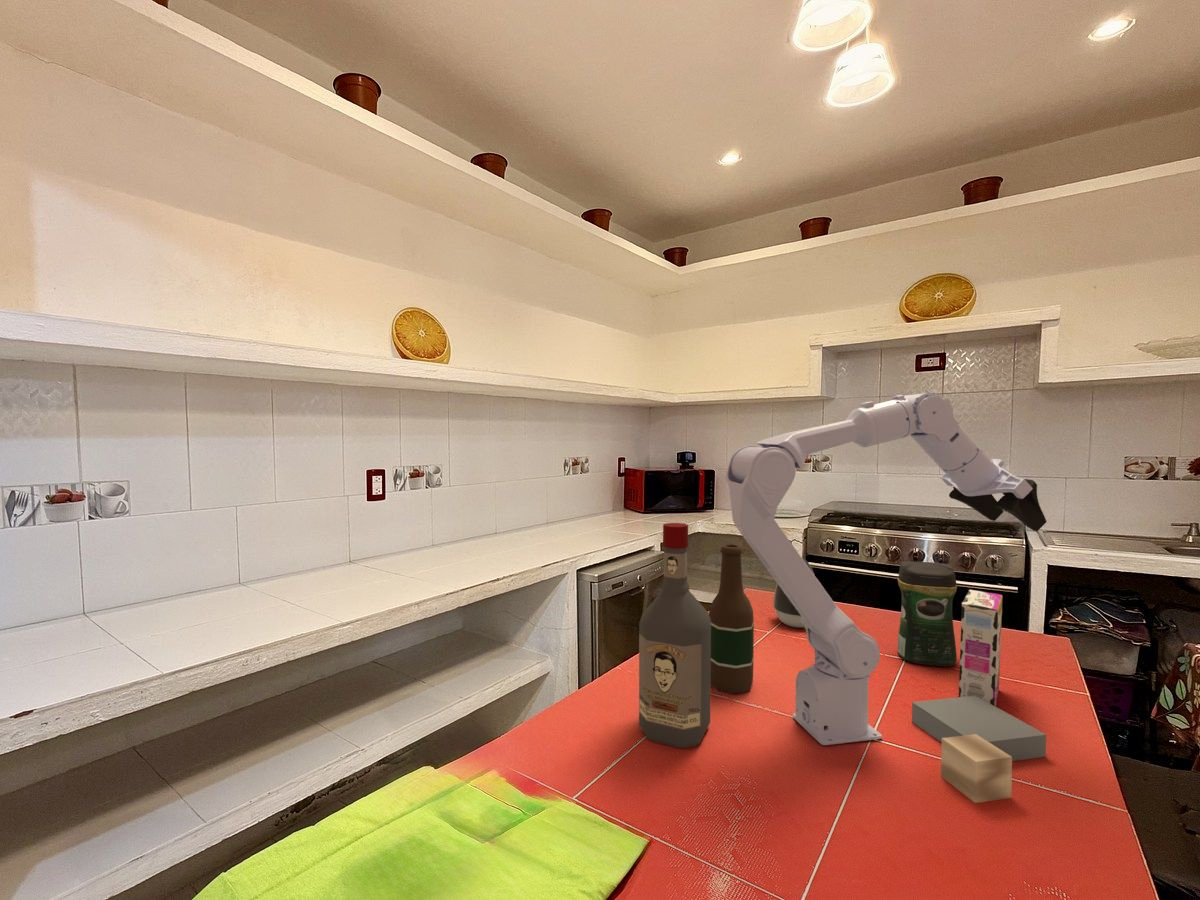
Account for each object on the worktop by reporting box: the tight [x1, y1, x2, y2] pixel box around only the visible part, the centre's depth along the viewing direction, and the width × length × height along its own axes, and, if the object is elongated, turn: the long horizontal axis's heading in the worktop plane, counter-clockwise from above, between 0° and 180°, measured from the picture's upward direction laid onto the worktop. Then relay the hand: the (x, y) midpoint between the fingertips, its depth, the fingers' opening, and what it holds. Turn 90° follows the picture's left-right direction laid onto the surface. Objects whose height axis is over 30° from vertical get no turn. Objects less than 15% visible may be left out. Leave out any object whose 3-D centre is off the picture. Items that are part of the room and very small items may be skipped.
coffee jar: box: [897, 560, 958, 667], centre depth 104 cm, size 10×8×19 cm
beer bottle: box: [708, 543, 755, 695], centre depth 93 cm, size 8×8×24 cm
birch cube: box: [940, 734, 1013, 804], centre depth 67 cm, size 5×5×5 cm
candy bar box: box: [958, 589, 1003, 707], centre depth 89 cm, size 11×5×16 cm, turn 141°
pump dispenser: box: [772, 557, 815, 629], centre depth 123 cm, size 10×10×15 cm
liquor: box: [638, 522, 712, 749], centre depth 79 cm, size 9×9×30 cm
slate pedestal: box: [911, 696, 1047, 762], centre depth 77 cm, size 11×11×3 cm
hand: (1017, 520), depth 82 cm, fingers open, 7 cm apart
